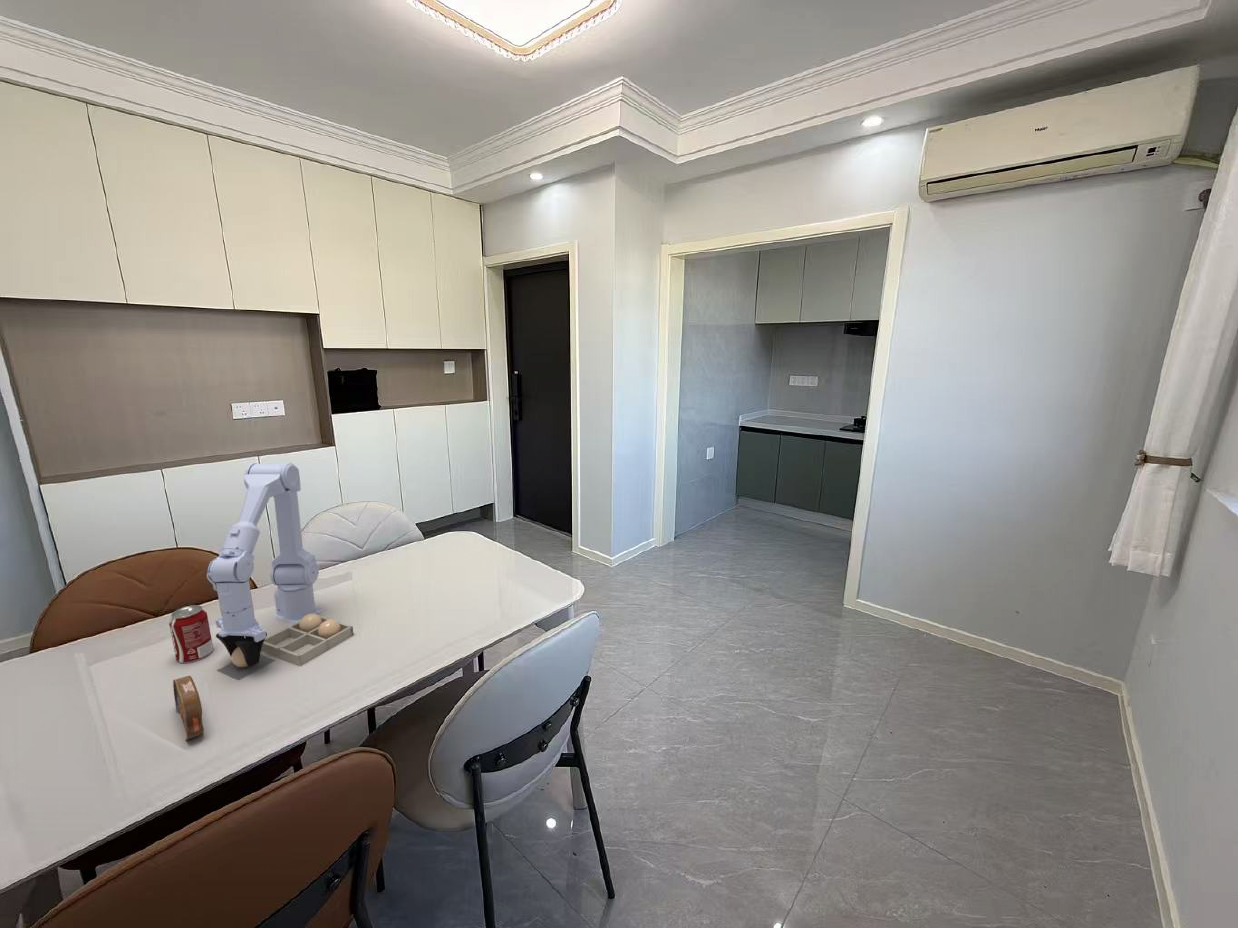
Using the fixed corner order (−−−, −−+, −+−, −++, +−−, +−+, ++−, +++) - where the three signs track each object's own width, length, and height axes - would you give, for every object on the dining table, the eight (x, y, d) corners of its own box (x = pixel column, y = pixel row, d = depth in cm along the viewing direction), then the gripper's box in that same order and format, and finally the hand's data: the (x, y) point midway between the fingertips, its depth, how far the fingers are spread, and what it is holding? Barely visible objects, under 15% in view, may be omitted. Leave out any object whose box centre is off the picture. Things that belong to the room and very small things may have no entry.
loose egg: (227, 668, 113) (224, 648, 112) (251, 656, 118) (248, 637, 117) (241, 674, 111) (238, 654, 110) (264, 661, 116) (261, 642, 115)
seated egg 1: (295, 635, 127) (293, 617, 126) (314, 625, 131) (312, 608, 130) (309, 639, 125) (306, 621, 124) (327, 630, 130) (325, 612, 128)
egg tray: (260, 652, 120) (258, 641, 120) (315, 624, 133) (314, 613, 132) (300, 668, 115) (298, 656, 114) (353, 636, 128) (352, 626, 127)
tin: (175, 709, 101) (167, 673, 99) (195, 702, 103) (188, 666, 102) (187, 749, 91) (179, 710, 89) (209, 740, 94) (202, 701, 92)
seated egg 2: (314, 641, 124) (311, 623, 123) (332, 631, 129) (330, 614, 128) (328, 646, 122) (325, 628, 121) (346, 636, 127) (344, 618, 126)
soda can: (220, 652, 120) (212, 606, 118) (189, 668, 114) (180, 621, 111) (201, 646, 122) (193, 601, 120) (169, 662, 116) (160, 615, 113)
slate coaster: (216, 672, 113) (216, 670, 113) (254, 653, 120) (253, 651, 120) (239, 682, 110) (238, 680, 109) (275, 662, 117) (275, 660, 117)
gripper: (196, 608, 110) (206, 662, 114) (237, 623, 105) (247, 679, 108) (231, 594, 117) (240, 646, 120) (272, 607, 111) (280, 661, 114)
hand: (245, 660), depth 114 cm, fingers closed on loose egg, 5 cm apart
